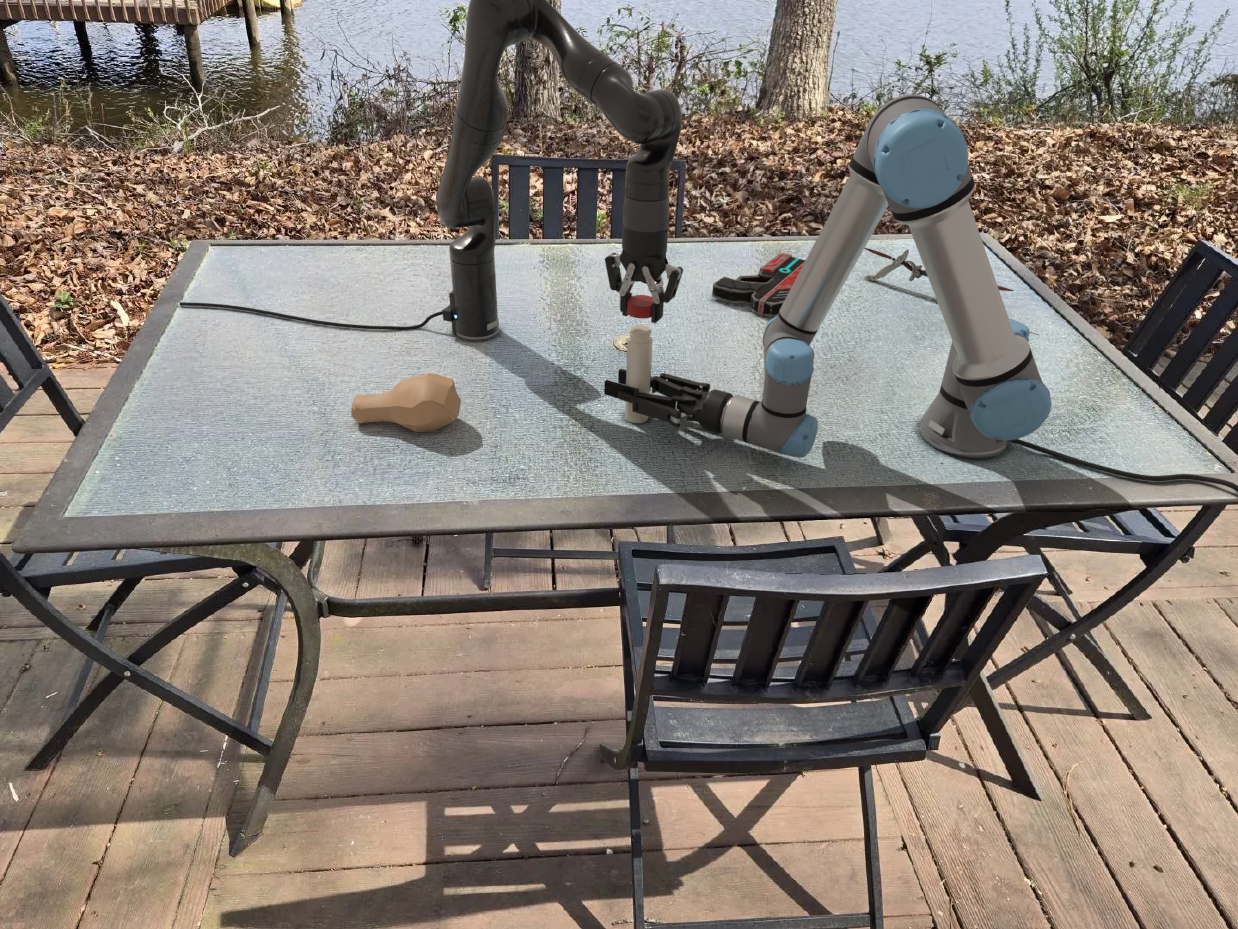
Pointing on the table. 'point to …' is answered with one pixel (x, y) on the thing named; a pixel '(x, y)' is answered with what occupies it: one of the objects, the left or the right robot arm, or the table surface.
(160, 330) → the table surface
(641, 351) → the slim white bottle
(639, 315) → the lid
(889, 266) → the bow
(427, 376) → the squash
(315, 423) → the table surface
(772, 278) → the gun
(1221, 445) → the table surface
